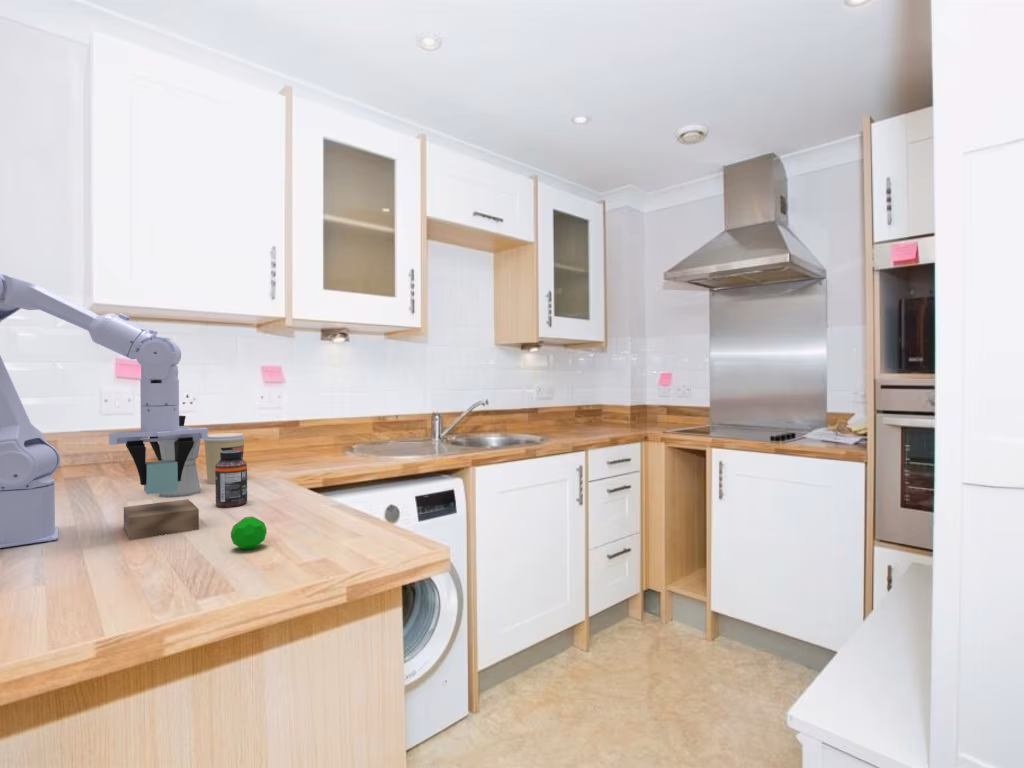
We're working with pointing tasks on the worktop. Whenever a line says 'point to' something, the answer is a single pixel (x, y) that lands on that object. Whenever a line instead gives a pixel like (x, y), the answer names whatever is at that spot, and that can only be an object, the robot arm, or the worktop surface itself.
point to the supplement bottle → (231, 479)
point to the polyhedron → (248, 533)
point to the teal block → (161, 476)
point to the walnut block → (160, 519)
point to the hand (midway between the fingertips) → (160, 482)
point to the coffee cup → (217, 445)
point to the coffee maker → (189, 473)
